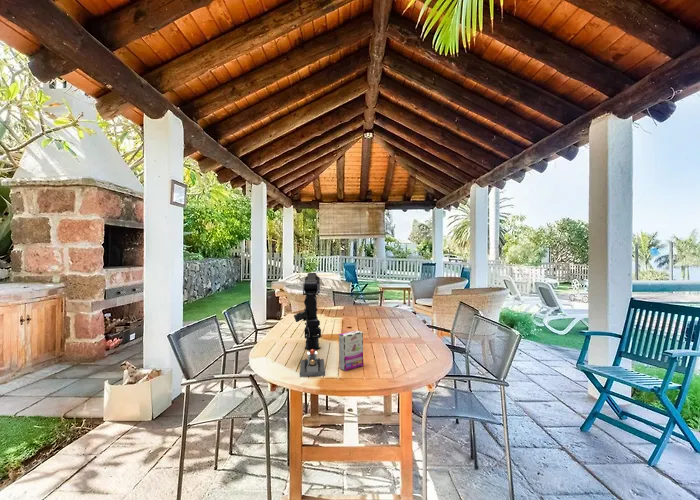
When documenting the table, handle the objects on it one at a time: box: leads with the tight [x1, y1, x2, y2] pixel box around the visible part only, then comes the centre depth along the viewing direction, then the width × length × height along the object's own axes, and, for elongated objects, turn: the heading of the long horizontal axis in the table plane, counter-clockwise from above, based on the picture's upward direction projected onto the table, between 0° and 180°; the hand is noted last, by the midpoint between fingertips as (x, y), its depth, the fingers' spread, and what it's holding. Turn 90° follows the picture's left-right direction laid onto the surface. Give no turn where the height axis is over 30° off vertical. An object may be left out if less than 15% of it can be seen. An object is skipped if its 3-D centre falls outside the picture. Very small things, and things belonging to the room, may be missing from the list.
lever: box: [307, 349, 318, 364], centre depth 155 cm, size 3×4×9 cm
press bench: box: [299, 357, 326, 378], centre depth 158 cm, size 16×11×7 cm, turn 6°
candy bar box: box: [338, 330, 364, 372], centre depth 161 cm, size 11×5×16 cm, turn 126°
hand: (311, 337), depth 169 cm, fingers closed
